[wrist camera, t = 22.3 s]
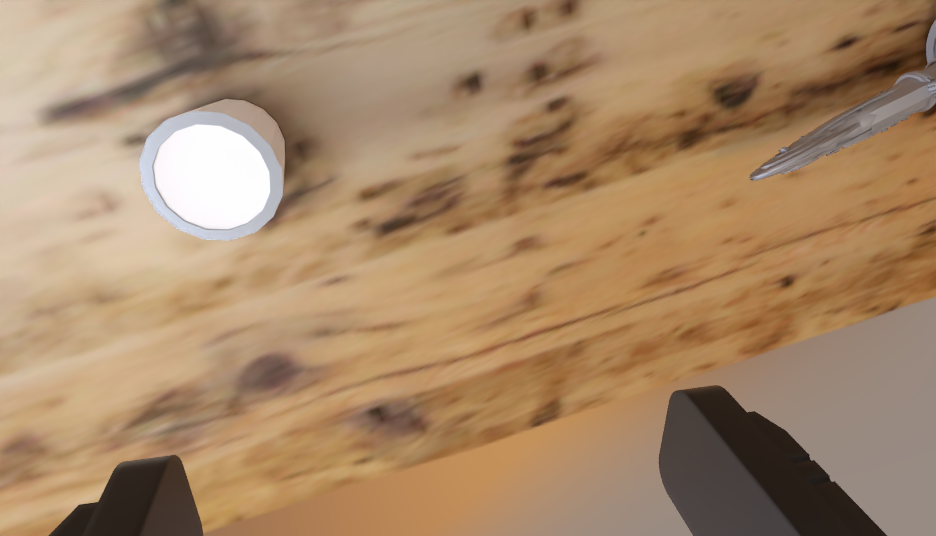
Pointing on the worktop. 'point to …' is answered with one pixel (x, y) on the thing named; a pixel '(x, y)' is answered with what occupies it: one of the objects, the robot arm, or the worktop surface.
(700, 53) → the worktop surface
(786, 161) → the spaceship
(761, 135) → the worktop surface
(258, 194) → the beige white cylinder
